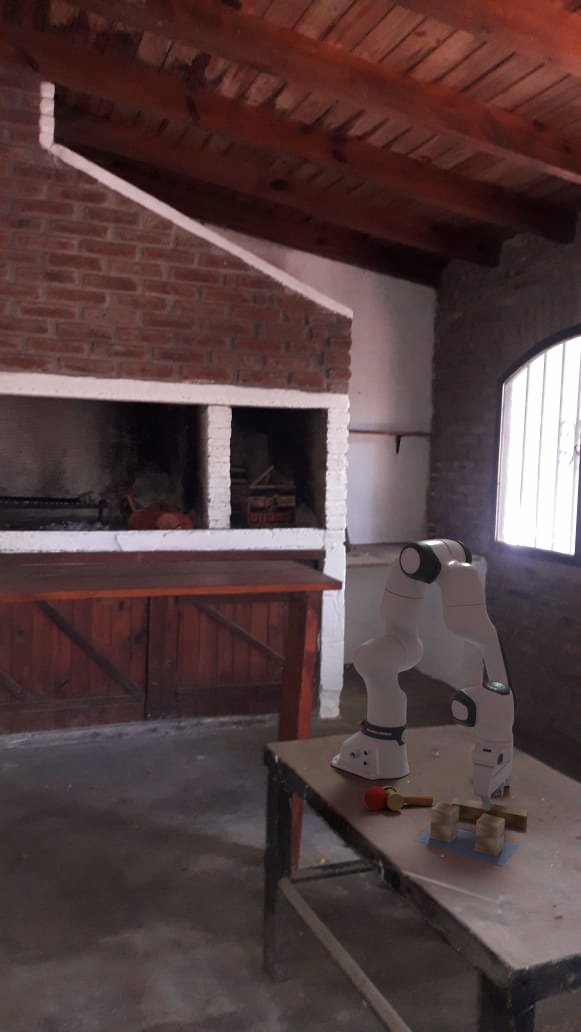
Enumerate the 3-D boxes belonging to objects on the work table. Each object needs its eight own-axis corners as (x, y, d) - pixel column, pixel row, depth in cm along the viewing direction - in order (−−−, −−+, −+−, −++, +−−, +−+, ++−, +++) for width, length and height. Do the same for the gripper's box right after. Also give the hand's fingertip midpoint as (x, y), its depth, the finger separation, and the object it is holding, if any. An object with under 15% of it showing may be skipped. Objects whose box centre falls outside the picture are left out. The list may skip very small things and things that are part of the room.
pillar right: (474, 850, 191) (476, 821, 190) (482, 842, 195) (483, 813, 194) (496, 856, 188) (497, 826, 188) (503, 848, 192) (504, 818, 192)
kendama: (422, 803, 221) (358, 798, 216) (428, 782, 219) (363, 777, 215) (432, 821, 213) (366, 816, 209) (438, 799, 212) (372, 794, 208)
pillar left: (430, 837, 197) (431, 808, 196) (438, 829, 201) (439, 801, 200) (450, 843, 194) (451, 814, 193) (457, 835, 198) (459, 806, 198)
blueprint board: (414, 842, 195) (414, 840, 195) (433, 824, 205) (434, 821, 205) (502, 868, 184) (502, 866, 184) (518, 847, 194) (518, 845, 194)
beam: (451, 818, 209) (451, 803, 209) (453, 812, 213) (454, 797, 213) (525, 832, 203) (526, 816, 203) (526, 825, 207) (527, 809, 207)
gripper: (495, 734, 217) (493, 786, 218) (468, 757, 200) (466, 813, 200) (519, 739, 214) (517, 791, 215) (494, 762, 196) (492, 820, 197)
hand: (492, 802), depth 207 cm, fingers open, 8 cm apart
